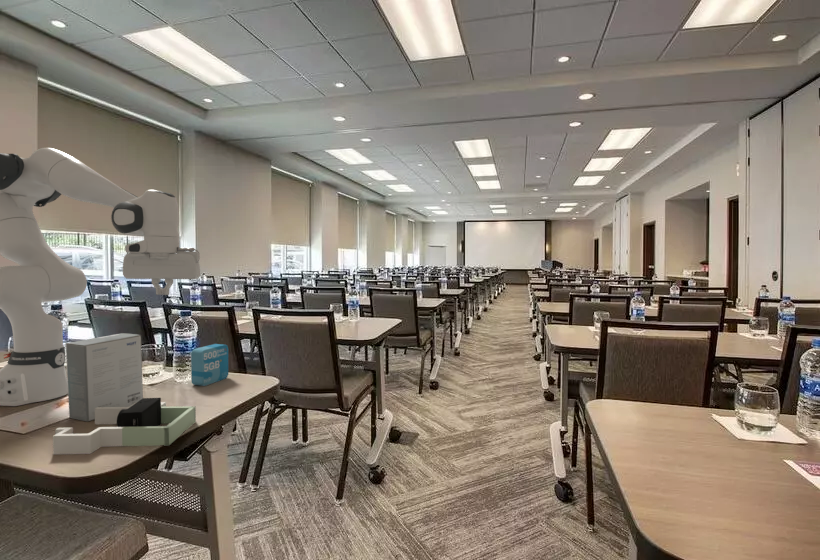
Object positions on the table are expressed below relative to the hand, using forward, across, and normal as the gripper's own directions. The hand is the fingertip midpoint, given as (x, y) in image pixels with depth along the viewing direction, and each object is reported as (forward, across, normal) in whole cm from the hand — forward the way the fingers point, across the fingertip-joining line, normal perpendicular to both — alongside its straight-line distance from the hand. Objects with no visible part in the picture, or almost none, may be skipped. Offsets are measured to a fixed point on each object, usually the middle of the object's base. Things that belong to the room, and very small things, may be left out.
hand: (162, 294), depth 124 cm
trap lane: (+31, -4, +24) cm, 39 cm away
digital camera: (+32, -6, +24) cm, 40 cm away
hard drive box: (+31, +11, +8) cm, 34 cm away
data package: (+31, -6, -19) cm, 37 cm away
